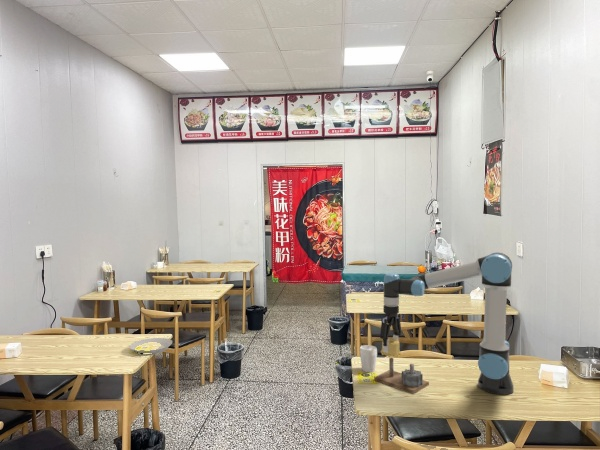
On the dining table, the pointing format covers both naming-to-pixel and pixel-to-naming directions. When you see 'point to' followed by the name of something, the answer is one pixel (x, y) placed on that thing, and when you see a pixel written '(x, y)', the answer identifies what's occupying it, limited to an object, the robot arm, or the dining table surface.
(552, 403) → the dining table surface
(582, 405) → the dining table surface
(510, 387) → the robot arm
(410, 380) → the gear board
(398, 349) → the ochre gear
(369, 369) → the cup
